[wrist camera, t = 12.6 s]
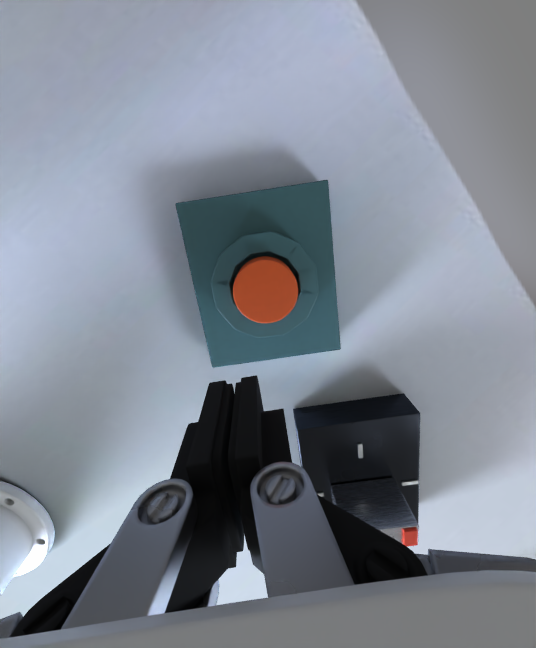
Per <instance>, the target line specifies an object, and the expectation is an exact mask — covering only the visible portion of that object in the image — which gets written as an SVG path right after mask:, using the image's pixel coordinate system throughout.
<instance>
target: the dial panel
mask: <svg viewBox="0 0 536 648" xmlns="http://www.w3.org/2000/svg"><path fill="white" fill-rule="evenodd" d="M293 412H294V419H295V426H296V434H297V441H298V448H299V455H300V463H301V468H303V469H304V470H305V471H306V473H307V474H308V476H309V478H310V480H311V482H312V485H313V487H314V490H315V492H316V494H317V495H319V496H321V497H322V498H324V499H326V500H328V501H329V502H331V503H333V502H332V493H331V485H336V484H344V483H352V482H360V481H368V480H376V479H384V478H392V477H394V479H395V481H396V483H397V485H398V487H399V488H400V490H401V492H402V494H403V496H404V498H405V500H406V502H407V504H408V506H409V508H410V510H411V512H412V513H413V515H414V517H415V519H416V521H417V523H418V503H419V447H420V412H419V411H418V410H417V409H416V408H415V406H414V405H413V404H412V403H411V402H410V400H409V399H408V398H407V397H406V396H405V394H396V395H389V396H382V397H375V398H367V399H360V400H353V401H346V402H339V403H332V404H324V405H317V406H310V407H303V408H296V409H293Z"/></svg>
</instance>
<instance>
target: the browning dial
mask: <svg viewBox="0 0 536 648" xmlns="http://www.w3.org/2000/svg"><path fill="white" fill-rule="evenodd" d="M331 493H332V502H333V504H334V505H336V506H338V507H340V508H341V509H343V510H345V511H347V512H348V513H350V514H352V515H354V516H355V517H357V518H359V519H361V520H362V521H364V522H366V523H368V524H369V525H371V526H373V527H375V528H376V529H378V530H380V531H381V532H383V533H385V534H387V535H388V536H390V537H392V538H394V539H395V540H397V541H399V542H401V543H402V544H404V545H405V546H414V545H418V534H419V525H418V523H417V521H416V519H415V517H414V515H413V513H412V512H411V510H410V508H409V506H408V504H407V502H406V500H405V498H404V496H403V494H402V492H401V490H400V488H399V487H398V485H397V483H396V481H395V479H394V477H392V478H384V479H376V480H368V481H360V482H352V483H344V484H336V485H331Z"/></svg>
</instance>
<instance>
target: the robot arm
mask: <svg viewBox="0 0 536 648" xmlns="http://www.w3.org/2000/svg"><path fill="white" fill-rule="evenodd" d="M244 534H245V538H246V543H247V547H248V550H250V553H251V558H252V562H253V565H254V566H255V567H257V568H258V569H259V570H260V571H261V572H262V573H263V574H264V576H265V582H266V588H267V594H268V598H263V599H256V600H249V601H242V602H236V603H229V604H223V605H216V603H217V599H218V594H219V581H218V579H219V578H220V577H221V576H222V574H223V573H224V572H225V571H226V570H227V569H228V568H233V567H236V557H237V552H241V551H243V547H244ZM54 539H55V530H54V525H53V522H52V520H51V518H50V516H49V514H48V512H47V511H46V510H45V508H44V507H43V506H42V505H41V504H40V503H39V502H38V501H37V500H36V499H35V498H34V497H32V496H31V495H29V494H28V493H27V492H25V491H24V490H22V489H20V488H18V487H16V486H14V485H12V484H9V483H6V482H3V481H0V596H1V594H2V593H3V591H4V590H5V588H6V587H7V586H8V584H9V583H10V581H11V580H12V578H13V577H14V576H18V575H22V574H24V573H27V572H29V571H31V570H33V569H34V568H36V567H37V566H39V565H40V564H41V563H42V561H43V560H44V559H45V558H46V556H47V555H48V553H49V551H50V550H51V548H52V546H53V543H54ZM0 648H536V560H535V559H531V558H525V557H513V556H502V555H490V554H479V553H467V552H455V551H444V550H432V549H428V555H423V554H414V552H413V551H412V550H410V549H409V548H408V547H406V546H405V545H404V544H402V543H401V542H399V541H397V540H395V539H394V538H392V537H390V536H388V535H387V534H385V533H383V532H381V531H380V530H378V529H376V528H375V527H373V526H371V525H369V524H368V523H366V522H364V521H362V520H361V519H359V518H357V517H355V516H354V515H352V514H350V513H348V512H347V511H345V510H343V509H341V508H340V507H338V506H336V505H334V504H333V503H331V502H329V501H328V500H326V499H324V498H322V497H321V496H319V495H317V494H316V492H315V490H314V487H313V485H312V482H311V480H310V478H309V476H308V474H307V473H306V471H305V470H304V469H303V468H301V467H300V466H299V465H296V464H294V463H292V460H291V454H290V448H289V441H288V435H287V429H286V422H285V416H284V410H283V409H278V410H272V411H266V412H264V410H263V405H262V399H261V394H260V388H259V383H258V378H257V376H250V377H244V378H241V382H238V383H236V387H235V394H234V389H233V385H232V384H227V383H226V381H218V382H212V383H209V386H208V390H207V393H206V397H205V400H204V404H203V407H202V411H201V414H200V418H199V421H198V422H195V423H190V424H189V425H188V427H187V429H186V432H185V435H184V438H183V441H182V444H181V447H180V450H179V454H178V457H177V460H176V463H175V466H174V469H173V472H172V475H171V478H170V479H168V480H164V481H161V482H159V483H156V484H155V485H153V486H152V487H150V488H148V489H147V490H146V491H145V492H144V493H143V494H141V495H140V497H139V498H138V499H137V501H136V502H135V503H134V505H133V507H132V508H131V510H130V512H129V514H128V515H127V517H126V519H125V520H124V522H123V524H122V525H121V527H120V529H119V531H118V532H117V534H116V536H115V537H114V539H113V541H112V543H111V544H109V545H108V546H107V547H106V548H104V549H103V550H102V551H101V552H99V553H98V554H97V555H96V556H94V557H93V558H92V559H91V560H89V561H88V562H87V563H85V564H84V565H83V566H82V567H80V568H79V569H78V570H77V571H75V572H74V573H73V574H72V575H70V576H69V577H68V578H67V579H65V580H64V581H63V582H62V583H60V584H59V585H58V586H57V587H55V588H54V589H53V590H52V591H50V592H49V593H48V594H47V595H45V596H44V597H43V598H42V599H40V600H39V601H38V602H37V603H36V604H35V605H34V606H33V607H32V608H31V609H30V610H29V611H28V612H27V613H26V614H25V616H24V617H23V616H22V614H21V613H20V612H18V613H16V614H13V615H10V616H8V617H5V618H3V619H0Z"/></svg>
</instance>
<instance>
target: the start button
mask: <svg viewBox="0 0 536 648" xmlns="http://www.w3.org/2000/svg"><path fill="white" fill-rule="evenodd" d="M233 298H234V301H235V304H236V306H237V308H238V309H239V311H240V312H241V313H242V314H243V315H244V316H245V317H247V318H248V319H250V320H252V321H255V322H258V323H273V322H276V321H279V320H281V319H283V318H284V317H286V316H287V315H288V314H289V313H290V312H291V311H292V309H293V308H294V306H295V304H296V301H297V298H298V285H297V281H296V278H295V276H294V275H293V273H292V271H291V270H290V268H289V267H288V266H287V265H286V264H285V263H284V262H282V261H281V260H279V259H277V258H274V257H269V256H262V257H257V258H254V259H252V260H250V261H248V262H247V263H245V264H244V265H243V266H242V268H241V269H240V270H239V272H238V274H237V276H236V279H235V282H234V285H233Z"/></svg>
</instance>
